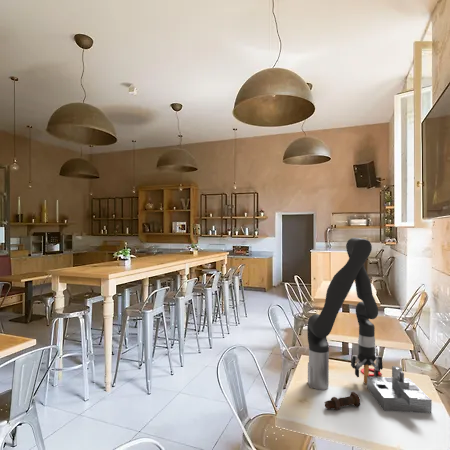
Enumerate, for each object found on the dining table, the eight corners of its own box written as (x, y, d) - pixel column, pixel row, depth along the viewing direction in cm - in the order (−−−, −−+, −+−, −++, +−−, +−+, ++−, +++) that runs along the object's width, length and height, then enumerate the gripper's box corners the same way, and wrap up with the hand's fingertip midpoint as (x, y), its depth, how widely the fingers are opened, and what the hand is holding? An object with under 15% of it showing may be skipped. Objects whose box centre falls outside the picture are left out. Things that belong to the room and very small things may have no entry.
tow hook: (364, 377, 166) (383, 377, 165) (363, 351, 166) (381, 351, 165) (358, 370, 174) (376, 369, 174) (357, 345, 174) (375, 345, 174)
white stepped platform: (388, 417, 130) (389, 382, 130) (367, 387, 154) (367, 358, 154) (438, 420, 128) (438, 384, 128) (408, 389, 152) (409, 359, 152)
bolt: (325, 413, 136) (355, 407, 140) (331, 413, 132) (362, 406, 136) (321, 397, 139) (350, 392, 143) (326, 397, 134) (357, 391, 139)
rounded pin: (364, 383, 158) (364, 362, 158) (363, 381, 160) (363, 361, 160) (369, 383, 158) (369, 363, 158) (367, 381, 160) (367, 361, 160)
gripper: (354, 346, 156) (354, 380, 156) (384, 347, 155) (384, 381, 155) (349, 340, 163) (349, 373, 163) (378, 341, 162) (378, 374, 162)
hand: (366, 377), depth 159 cm, fingers open, 8 cm apart
